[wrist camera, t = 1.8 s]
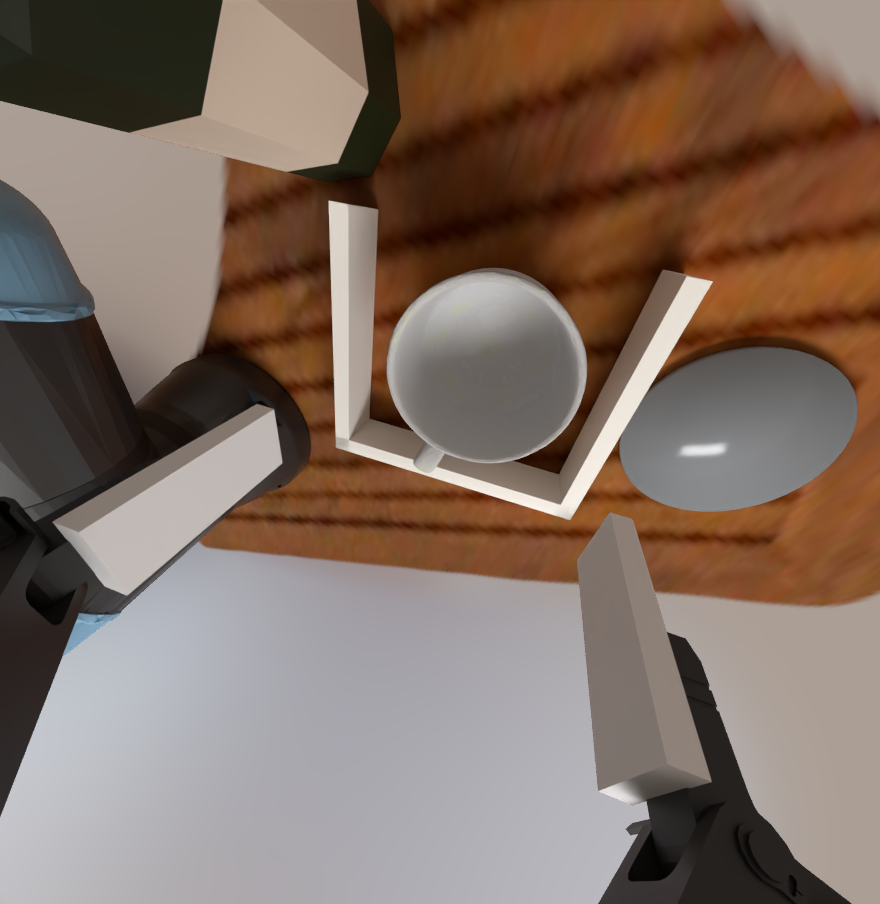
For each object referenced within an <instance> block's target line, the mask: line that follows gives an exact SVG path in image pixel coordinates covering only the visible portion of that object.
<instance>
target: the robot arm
mask: <svg viewBox="0 0 880 904" xmlns="http://www.w3.org/2000/svg"><path fill="white" fill-rule="evenodd" d="M94 309H95V305H94V299H93V296H92V295H91V293H90V292H89V290H88V289H87V288H86V287H85V286H84V285H82V284H81V283H80V280H79V278H78V276H77V274H76V272H75V270H74V268H73V266H72V264H71V262H70V260H69V258H68V256H67V254H66V252H65V250H64V248H63V246H62V244H61V242H60V240H59V238H58V236H57V235H56V232H55V230H54V228H53V227H52V225H51V224H50V222H49V220H48V219H47V218H46V217H45V216H44V215H43V213H42V212H41V211H40V210H39V208H37V206H35V204H33V203H32V202H31V201H30V200H29V199H28V198H27V197H25V196H24V195H23V194H21V193H20V192H19V191H17V190H16V189H14V188H13V187H11V186H10V185H8V184H7V183H5V182H3V181H1V180H0V816H1V813H2V811H3V808H4V806H5V803H6V801H7V798H8V795H9V793H10V790H11V787H12V785H13V782H14V779H15V777H16V775H17V772H18V770H19V767H20V764H21V762H22V759H23V757H24V754H25V752H26V749H27V746H28V744H29V741H30V739H31V736H32V733H33V731H34V728H35V726H36V723H37V720H38V718H39V715H40V713H41V710H42V708H43V705H44V702H45V700H46V697H47V695H48V692H49V690H50V687H51V684H52V682H53V679H54V677H55V674H56V672H57V669H58V666H59V664H60V661H61V659H62V656H64V655H65V654H67V653H68V652H70V651H71V650H72V649H74V648H75V647H76V646H77V645H78V644H80V643H81V642H82V641H83V640H85V639H86V638H87V637H89V636H90V635H91V634H93V633H94V632H95V631H96V630H97V629H99V628H100V627H101V626H103V625H104V624H105V623H107V622H108V621H111V620H113V619H114V618H116V617H117V616H118V615H119V614H120V613H121V611H122V610H123V609H124V608H125V607H126V606H127V605H128V604H129V603H130V602H131V601H132V600H134V599H135V598H136V597H137V596H138V595H139V594H140V593H141V592H143V591H144V590H145V589H146V588H147V587H148V586H149V585H150V584H151V583H152V582H154V581H155V580H156V579H157V578H158V577H159V576H160V575H161V574H163V572H165V571H166V570H167V569H168V568H169V567H170V566H171V565H172V564H174V563H175V562H176V561H177V560H178V559H179V558H180V557H181V556H182V555H184V554H185V553H186V552H187V551H188V550H189V549H190V548H191V547H192V546H194V545H195V544H196V543H197V542H198V541H199V540H200V539H201V538H202V537H204V536H205V535H206V534H207V533H208V532H209V531H210V530H211V529H212V528H214V527H215V526H216V525H217V524H218V523H219V522H220V521H221V520H223V519H224V518H225V517H226V516H227V515H228V514H229V513H231V512H232V511H233V510H234V509H235V508H237V507H239V506H241V505H244V504H246V503H248V502H250V501H252V500H254V499H256V498H258V497H260V496H261V495H263V494H264V493H266V492H268V491H274V490H277V489H279V488H282V487H284V486H285V485H287V484H288V483H290V482H291V481H292V480H293V479H294V478H295V477H296V476H297V475H298V474H299V473H300V472H301V471H302V470H303V469H304V468H305V466H306V465H307V463H308V460H309V457H310V448H311V447H310V438H309V433H308V430H307V427H306V424H305V422H304V419H303V417H302V415H301V413H300V412H299V410H298V408H297V407H296V405H295V404H294V402H293V401H292V399H291V398H290V397H289V395H288V394H287V393H286V392H285V391H284V390H283V389H282V388H281V386H280V385H279V384H277V383H276V382H275V381H274V380H273V379H272V378H271V377H270V376H268V375H267V374H266V373H265V372H263V371H262V370H260V369H259V368H257V367H256V366H254V365H252V364H250V363H248V362H246V361H244V360H242V359H239V358H237V357H234V356H230V355H225V354H207V355H204V356H201V357H198V358H195V359H192V360H189V361H187V362H184V363H182V364H181V365H179V366H177V367H176V368H175V369H173V370H172V372H171V373H170V374H169V375H168V376H167V377H166V378H165V379H163V380H162V381H161V382H160V383H159V384H157V385H156V386H155V387H154V388H153V389H152V390H151V391H149V392H148V393H147V394H146V395H145V396H144V397H143V398H141V400H139V401H138V402H137V403H136V404H135V405H134V404H133V402H132V399H131V397H130V395H129V393H128V390H127V388H126V386H125V384H124V381H123V379H122V377H121V375H120V372H119V370H118V368H117V366H116V363H115V361H114V359H113V357H112V355H111V352H110V350H109V348H108V345H107V343H106V340H105V338H104V336H103V334H102V331H101V329H100V327H99V324H98V322H97V320H96V317H95V315H94V313H93V311H94ZM577 565H578V576H579V587H580V598H581V609H582V620H583V631H584V641H585V652H586V663H587V674H588V685H589V696H590V706H591V718H592V729H593V740H594V751H595V762H596V773H597V783H598V791H599V792H601V793H604V794H606V795H609V796H611V797H613V798H616V799H619V800H621V801H623V802H626V803H628V804H630V805H635V804H638V803H641V802H645V801H647V806H648V812H649V817H650V819H648V820H644V821H639V822H636V823H632V824H631V825H630V826H629V827H627V829H626V830H627V831H628V833H629V834H630V835H633V834H638V836H637V837H636V839H635V841H634V843H633V844H632V846H631V848H630V850H629V851H628V853H627V855H626V857H625V858H624V860H623V862H622V863H621V865H620V867H619V869H618V871H617V872H616V874H615V876H614V877H613V879H612V881H611V883H610V884H609V886H608V888H607V890H606V891H605V893H604V895H603V897H602V898H601V900H600V902H599V903H598V904H851V903H850V902H849V901H847V900H846V899H845V898H843V897H842V896H841V895H840V894H838V893H837V892H836V891H834V890H833V889H832V888H831V887H829V886H828V885H827V884H825V883H824V882H823V881H822V880H820V879H819V878H817V877H816V876H815V875H814V874H812V873H811V872H810V871H809V870H807V869H806V868H805V867H803V866H802V865H801V864H800V863H799V862H798V861H797V860H795V859H794V857H793V855H792V853H791V852H790V850H789V848H788V846H787V845H786V843H785V842H784V841H783V839H782V838H781V837H780V835H779V834H778V833H777V832H776V831H775V829H774V828H773V827H772V825H771V824H770V823H769V822H768V821H766V820H765V819H764V818H763V817H762V816H761V815H760V814H759V813H758V812H757V810H756V809H755V807H754V805H753V802H752V800H751V798H750V796H749V793H748V791H747V788H746V785H745V782H744V780H743V777H742V774H741V772H740V769H739V766H738V763H737V760H736V758H735V755H734V752H733V749H732V746H731V744H730V741H729V738H728V735H727V733H726V730H725V727H724V724H723V722H722V719H721V716H720V713H719V711H717V710H716V707H717V705H716V702H715V700H714V697H713V694H712V691H710V690H709V683H708V680H707V677H706V674H705V672H704V669H703V666H702V663H701V661H700V660H699V658H698V657H697V655H696V654H695V652H694V651H693V649H692V648H691V646H690V645H689V643H688V642H687V640H686V639H685V638H682V637H679V636H676V635H674V634H671V633H668V632H667V631H666V628H665V625H664V621H663V618H662V615H661V612H660V608H659V605H658V602H657V598H656V595H655V592H654V588H653V585H652V582H651V578H650V575H649V572H648V568H647V565H646V562H645V558H644V555H643V552H642V549H641V545H640V542H639V539H638V535H637V532H636V529H635V525H634V522H633V519H630V518H627V517H624V516H620V515H617V514H614V513H609V515H608V516H607V517H606V519H605V520H604V522H603V523H602V525H601V526H600V528H599V529H598V530H597V532H596V533H595V535H594V536H593V538H592V539H591V541H590V542H589V543H588V545H587V546H586V548H585V549H584V551H583V552H582V553H581V555H580V556H579V558H578V559H577Z"/></svg>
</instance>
